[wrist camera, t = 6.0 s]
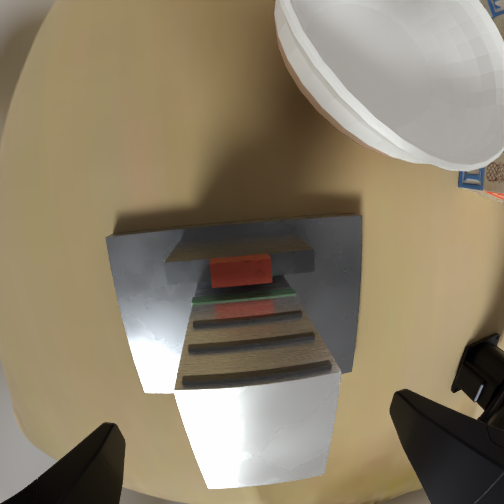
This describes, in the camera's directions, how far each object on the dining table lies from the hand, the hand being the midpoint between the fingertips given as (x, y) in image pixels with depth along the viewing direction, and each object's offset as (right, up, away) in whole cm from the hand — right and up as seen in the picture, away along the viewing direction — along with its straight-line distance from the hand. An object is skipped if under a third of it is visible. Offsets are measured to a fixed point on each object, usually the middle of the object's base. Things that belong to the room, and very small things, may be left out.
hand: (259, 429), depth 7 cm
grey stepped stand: (-1, +1, +12) cm, 12 cm away
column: (-1, +2, +7) cm, 8 cm away
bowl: (+8, +19, +9) cm, 22 cm away
